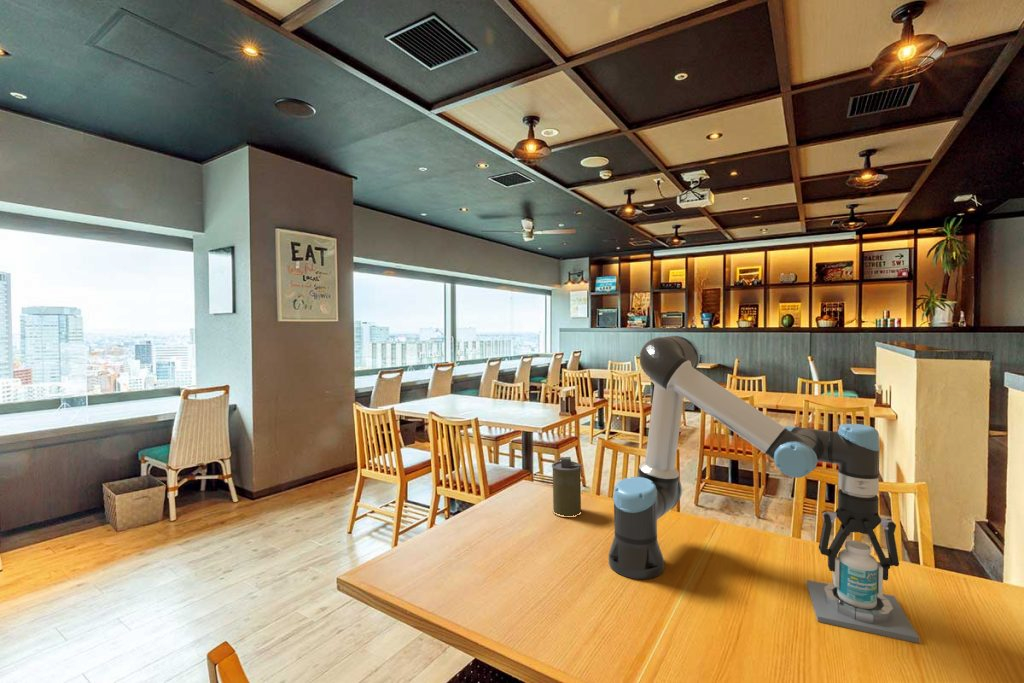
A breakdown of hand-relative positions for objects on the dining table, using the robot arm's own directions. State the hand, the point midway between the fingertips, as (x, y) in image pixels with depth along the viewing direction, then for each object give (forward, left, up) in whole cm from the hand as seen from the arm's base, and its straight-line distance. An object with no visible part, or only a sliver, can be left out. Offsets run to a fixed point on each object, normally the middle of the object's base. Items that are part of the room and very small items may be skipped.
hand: (856, 588), depth 107 cm
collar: (0, 0, -4) cm, 4 cm away
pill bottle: (0, 0, -3) cm, 3 cm away
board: (0, 0, -5) cm, 5 cm away
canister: (-80, +28, -6) cm, 85 cm away
